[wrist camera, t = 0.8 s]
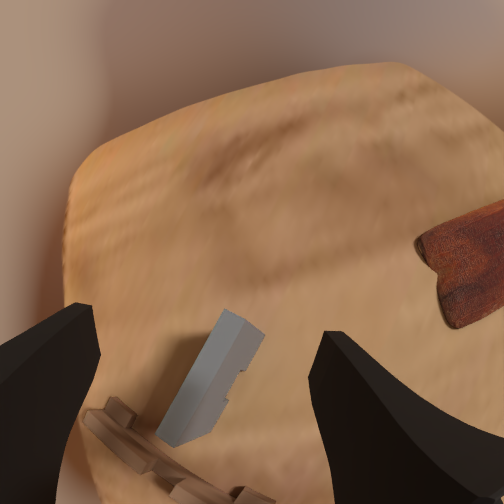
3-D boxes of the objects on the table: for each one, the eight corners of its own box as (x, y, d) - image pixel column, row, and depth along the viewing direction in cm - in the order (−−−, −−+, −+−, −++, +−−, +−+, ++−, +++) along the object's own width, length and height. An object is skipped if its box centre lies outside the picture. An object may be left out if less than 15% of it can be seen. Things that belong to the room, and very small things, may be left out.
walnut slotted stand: (276, 501, 18) (269, 517, 15) (248, 534, 16) (238, 552, 13) (116, 396, 24) (94, 396, 21) (99, 431, 23) (77, 434, 20)
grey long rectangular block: (210, 432, 22) (173, 448, 15) (195, 422, 22) (154, 434, 16) (265, 334, 24) (245, 319, 18) (249, 326, 25) (224, 308, 19)
